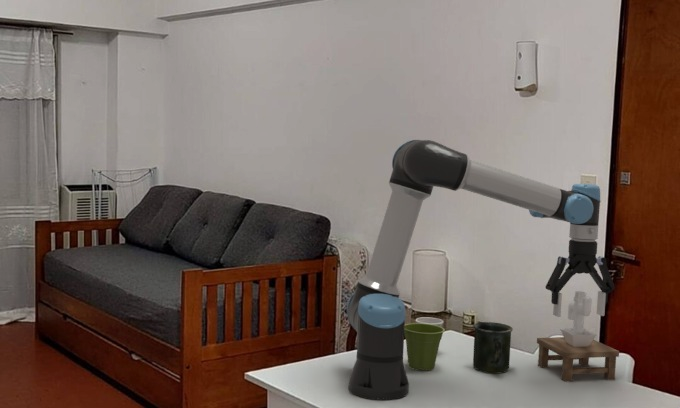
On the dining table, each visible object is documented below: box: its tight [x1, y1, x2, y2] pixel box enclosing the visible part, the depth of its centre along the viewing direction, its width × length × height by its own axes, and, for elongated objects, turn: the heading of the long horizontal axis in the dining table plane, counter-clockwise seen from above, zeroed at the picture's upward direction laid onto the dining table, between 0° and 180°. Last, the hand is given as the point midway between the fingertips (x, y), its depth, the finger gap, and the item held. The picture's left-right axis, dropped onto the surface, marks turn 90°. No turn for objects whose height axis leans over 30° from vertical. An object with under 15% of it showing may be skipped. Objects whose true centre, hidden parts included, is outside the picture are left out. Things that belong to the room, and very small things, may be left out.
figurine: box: [559, 290, 597, 347], centre depth 211 cm, size 7×9×15 cm
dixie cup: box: [415, 316, 444, 328], centre depth 227 cm, size 8×8×10 cm
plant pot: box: [404, 322, 446, 372], centre depth 212 cm, size 12×12×11 cm
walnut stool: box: [536, 336, 620, 383], centre depth 213 cm, size 16×16×8 cm
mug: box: [472, 321, 514, 374], centre depth 212 cm, size 11×15×12 cm
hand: (578, 315), depth 212 cm, fingers open, 13 cm apart
